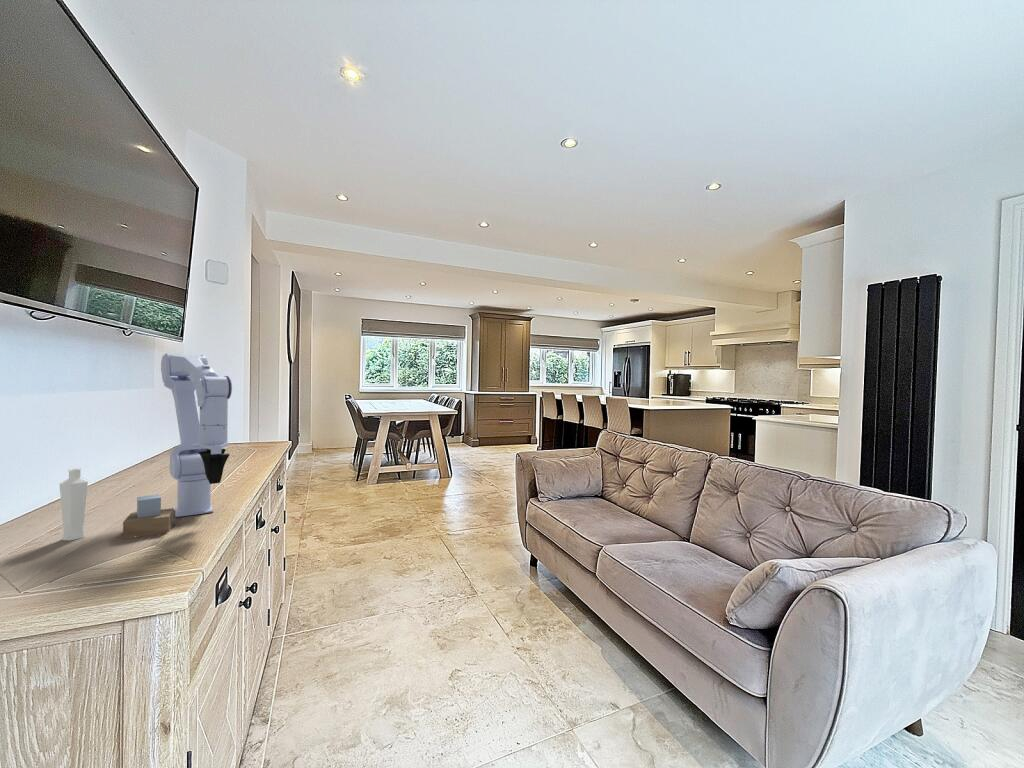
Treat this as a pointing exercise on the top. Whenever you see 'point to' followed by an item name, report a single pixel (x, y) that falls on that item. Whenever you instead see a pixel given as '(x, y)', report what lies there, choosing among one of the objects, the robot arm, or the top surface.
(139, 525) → the walnut block
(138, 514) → the slate-blue cube
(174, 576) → the top surface
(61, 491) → the perfume bottle
